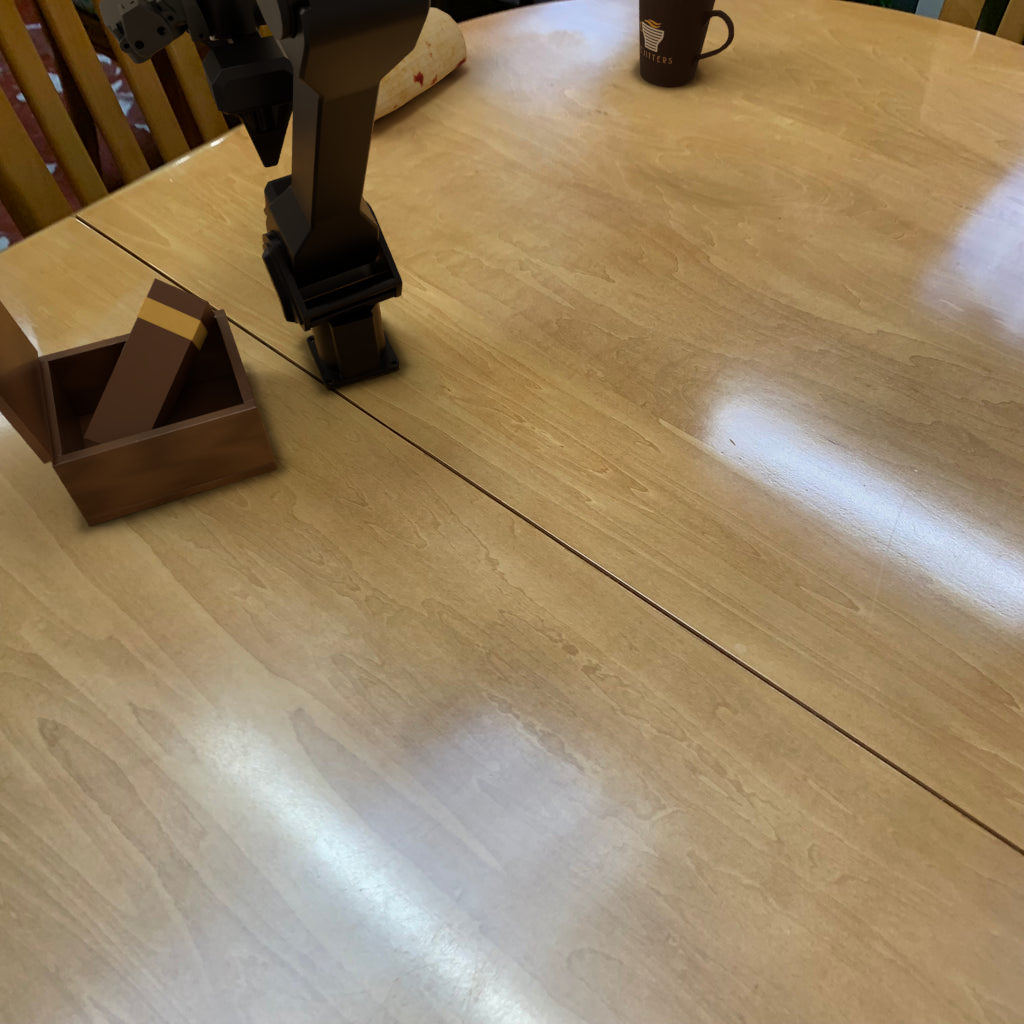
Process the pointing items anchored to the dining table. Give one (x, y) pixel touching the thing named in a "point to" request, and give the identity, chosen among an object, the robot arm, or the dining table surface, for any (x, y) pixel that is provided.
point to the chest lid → (23, 387)
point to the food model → (423, 62)
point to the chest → (154, 430)
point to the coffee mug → (675, 39)
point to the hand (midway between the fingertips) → (257, 136)
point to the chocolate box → (152, 364)
